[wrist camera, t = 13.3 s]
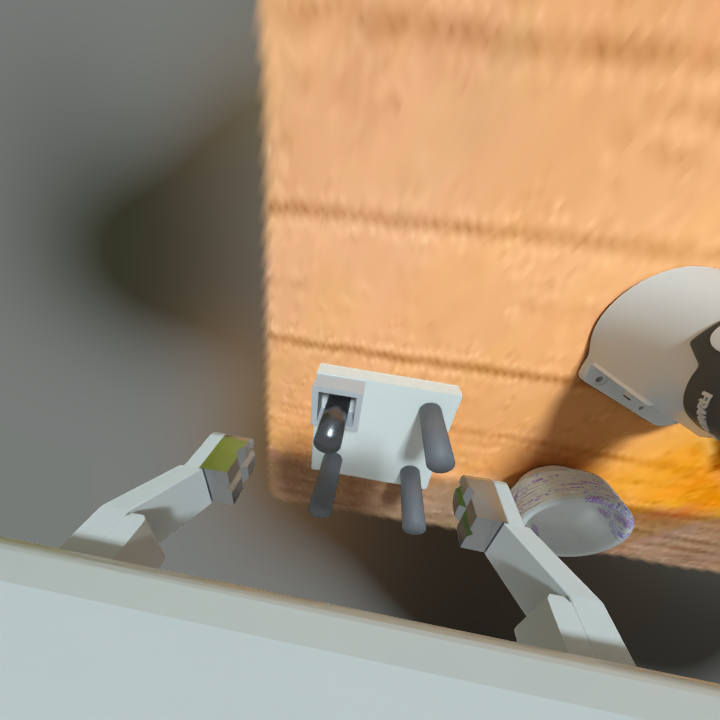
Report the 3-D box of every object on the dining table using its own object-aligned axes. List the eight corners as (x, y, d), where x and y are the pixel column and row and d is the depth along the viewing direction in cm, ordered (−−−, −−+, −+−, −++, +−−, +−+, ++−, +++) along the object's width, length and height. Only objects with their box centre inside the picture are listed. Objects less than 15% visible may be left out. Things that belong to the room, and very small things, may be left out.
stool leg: (355, 396, 38) (346, 444, 30) (342, 408, 39) (329, 457, 31) (338, 383, 37) (324, 428, 29) (324, 396, 38) (307, 443, 31)
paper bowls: (480, 490, 48) (495, 536, 41) (547, 438, 41) (578, 483, 34) (546, 520, 50) (570, 569, 43) (619, 476, 43) (663, 526, 36)
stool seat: (458, 385, 38) (482, 446, 28) (424, 476, 48) (432, 546, 38) (321, 363, 39) (296, 415, 29) (314, 457, 48) (294, 521, 38)
